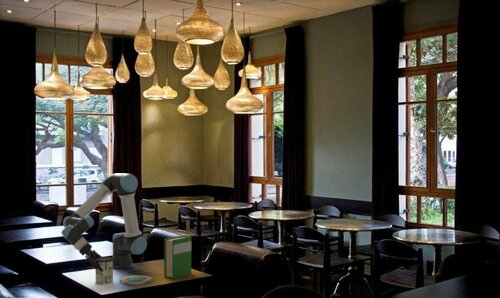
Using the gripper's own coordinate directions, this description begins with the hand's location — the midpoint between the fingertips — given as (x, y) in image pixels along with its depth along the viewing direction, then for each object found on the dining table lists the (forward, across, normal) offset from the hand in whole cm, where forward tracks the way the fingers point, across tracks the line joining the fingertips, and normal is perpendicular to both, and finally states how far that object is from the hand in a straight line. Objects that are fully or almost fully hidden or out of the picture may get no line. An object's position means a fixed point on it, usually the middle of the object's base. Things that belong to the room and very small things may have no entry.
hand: (109, 273), depth 334 cm
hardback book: (+31, -18, +23) cm, 43 cm away
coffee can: (+2, 0, -6) cm, 6 cm away
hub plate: (+15, -3, +7) cm, 17 cm away
